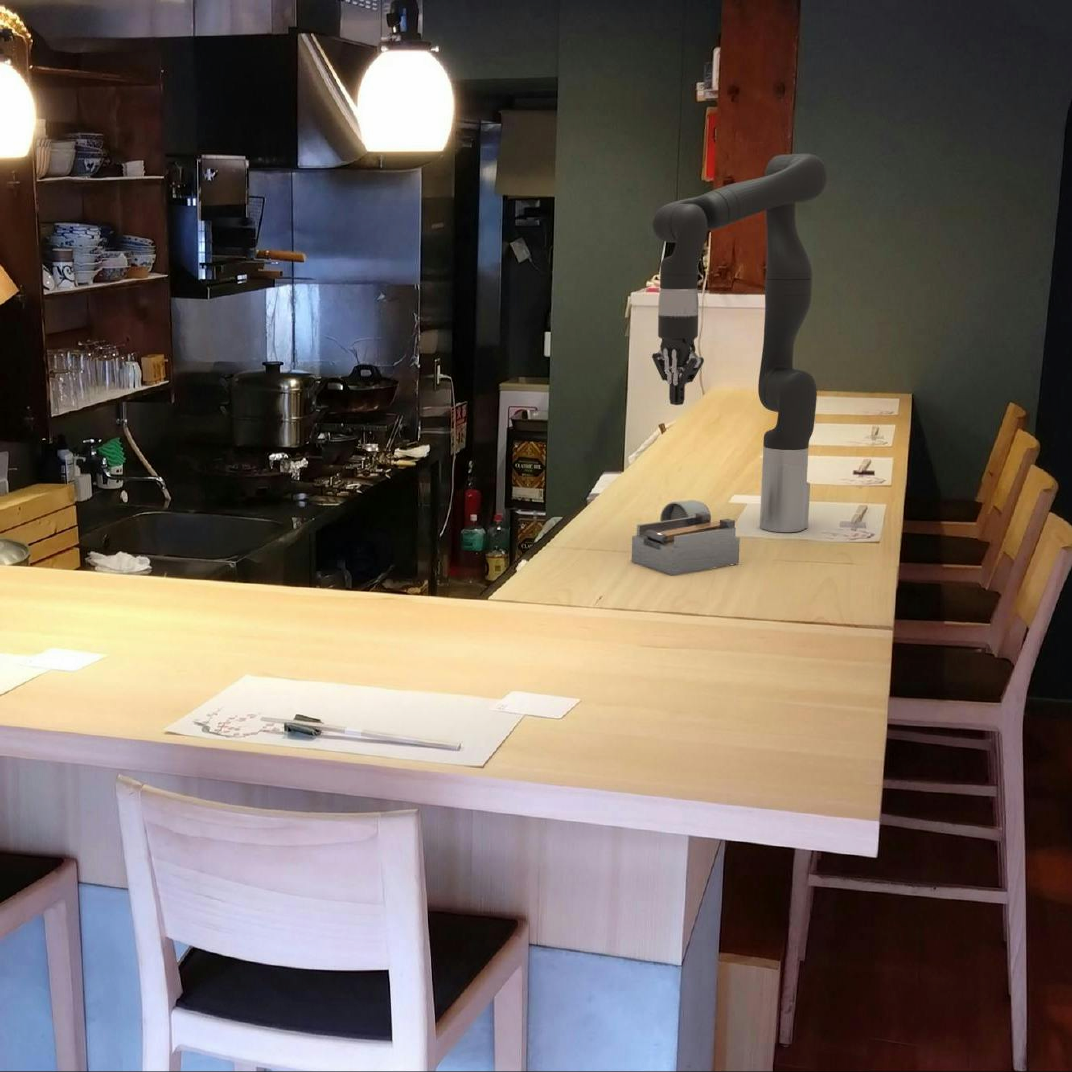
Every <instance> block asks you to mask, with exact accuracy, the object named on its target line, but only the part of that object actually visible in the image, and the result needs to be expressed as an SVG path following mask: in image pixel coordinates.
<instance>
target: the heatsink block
mask: <svg viewBox="0 0 1072 1072" xmlns="http://www.w3.org/2000/svg"><path fill="white" fill-rule="evenodd" d="M710 515H711V513H710V514H709V513H705V512H701V513H696V517H695V516H694V517H688V518H681V519H674V520H667V521H655V522H654V521H653V522H647V523H640V524H636V534H635V535H631V563H634V564H637V565H639V566H642V567H646V568H648V569H652V570H655V571H657V572H660V573H664V574H667V575H669V576H679V575H682V574H688V573H695V572H701V571H707V570H711V569H710V568H713V567H718V568H723V567H722V566H724V567H728V566H727V565H730V566H732V565H731V564H736V563H740V542H741V539H740V537H738V536H736V531H737V530H736V529H737V528H736V520H734V519H730V518H725V519H719V522H720V528H719V529H718V530H711V531H705V532H699V533H692V534H686V535H679V536H674V540H669V541H666V542H665V543H662V542H659V541H655V540H652V539H649V538H647V537H646V531H647V530H653V531H656V532H662V531H668V530H673V529H678V528H683V527H689V526H694V525H699V524H704V523H710ZM736 565H737V564H736ZM706 569H707V570H706ZM713 569H714V568H713Z"/></svg>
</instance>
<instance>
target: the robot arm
mask: <svg viewBox="0 0 1072 1072" xmlns="http://www.w3.org/2000/svg"><path fill="white" fill-rule="evenodd" d="M827 180H828V172H827V167H826V164H825V163H824V162H823V160H822V159H821V158H820V157H818V156H817V155H815V154H811V153H792V154H779V155H775V156H773V157H772V158H771V159H770V161H768V163H767V165H766V168H765V172H764V176H761V177H758V178H757V177H756V178H752V179H748V180H743V181H740V182H735V183H730V184H727V185H724V186H720V187H719V188H716V189H713V190H711V191H708V192H706V193H704V194H702V195H699V196H694V197H688V198H685V199H681V200H676V201H673V202H669V203H667V204H664V205H662V206H661V207H660V208H659V209H658V210H657V211H656V213H655V214H654V216H653V219H652V230H653V233H654V235H655V236H656V237H657V239H659V240H660V241H663V242H666V243H670V244H671V243H672V244H673V243H674V244H675V246H674V250H673V253H672V255H669V256H667V257H666V256H665V257H664V258H663V259H662V260H661V262H660V268H659V269H660V274H659V277H660V278H659V280H660V281H659V295H658V310H657V311H658V313H657V314H658V315H657V317H658V318H657V319H658V322H657V336H658V338H659V339H661V342H660V345H659V348H660V349H659V350H658V352H656V353H655V352H654V353H652V355H651V358H652V360H653V363H654V365H655V367H656V369H657V371H658V374H659V376H660V378H661V380H662V381H666V382H667V384H668V385H669V390H668V391H669V395H668V397H669V403H670V405H673V406H680V405H683V404H684V402H685V399H686V398H685V392H686V389H685V388H686V385H687V384H688V383H693V382H694V380H695V378H696V376H697V374H698V373H699V371H700V369H701V368H702V366H703V365H704V363H705V359H704V357H702V356H698V354H697V352H696V345H695V339H697V338H698V336H699V293H698V285H699V283H698V282H699V281H698V280H699V279H698V277H699V275H698V274H699V269H698V268H699V263H700V261H701V257H702V255H703V251H704V246H705V243H706V239H707V235H708V231H713V230H718V229H721V228H723V227H727V226H728V225H731V224H734V223H736V222H739V221H741V220H744V219H746V218H748V217H751V216H753V215H756V214H759V213H763V212H764V211H765V221H766V222H765V224H766V266H765V267H766V268H765V280H764V281H765V285H764V324H763V325H764V327H763V345H762V352H761V359H760V360H761V362H760V366H759V367H760V368H759V375H758V384H757V389H758V390H757V391H758V398H759V401H760V403H761V405H762V407H764V408H765V409H766V410H768V411H772V412H775V413H777V419H776V425H775V426H774V427H773V428H772V429H769V430H767V431H766V432H765V433H764V435H763V445H762V446H763V447H762V464H761V465H762V467H761V468H762V469H761V486H760V487H761V489H760V490H761V491H760V493H761V494H760V511H759V513H760V515H759V528H760V529H762V530H765V531H769V532H776V533H797V532H801V531H804V530H805V529H807V528H809V517H810V516H809V515H810V514H809V512H810V511H809V510H810V496H811V483H809V482H808V467H809V466H808V465H809V450H810V449H809V446H810V439H811V437H812V435H813V433H814V428H815V419H816V418H815V417H816V408H817V402H818V401H817V400H818V398H817V397H818V391H817V390H818V389H817V383H816V381H815V379H814V377H813V376H812V375H811V374H810V373H809V372H807V371H805V370H802V369H797V368H796V369H795V368H793V367H794V365H793V364H794V363H793V361H794V357H793V356H794V348H795V347H794V345H795V340H796V338H797V334H798V333H799V330H800V329H801V327H802V324H803V323H804V321H805V319H806V317H807V314H808V312H809V310H810V306H811V303H812V301H811V300H812V292H813V289H812V288H813V286H812V285H813V270H812V269H813V268H812V265H811V261H810V259H809V256H808V255H807V251H806V250H805V248H804V246H803V243H802V241H801V238H800V235H799V234H798V231H797V224H796V204H797V203H805V202H806V203H807V202H810V201H812V200H815V199H816V198H818V197H819V196H820V195H821V194H822V192H824V189H825V187H826V185H827Z"/></svg>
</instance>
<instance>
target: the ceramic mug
mask: <svg viewBox="0 0 1072 1072" xmlns="http://www.w3.org/2000/svg"><path fill="white" fill-rule="evenodd" d="M701 512H705V513H709V514H710V522H712V520H711V519H712V515H711V511H710V509H709V507H708V506H707V505H706V504H705V502H702V501H699V500H684V501H683V500H680V501H671V502H669V503H667V504H666V505H665V506H664V507H663V508H662V511H661V513H660V518H659V519H660V521H667V520H674V519H681V518H688V517H694V516H695V517H696V513H701ZM660 521H659V522H660Z"/></svg>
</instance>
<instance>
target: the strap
mask: <svg viewBox="0 0 1072 1072" xmlns="http://www.w3.org/2000/svg"><path fill="white" fill-rule="evenodd" d="M719 528H720V520H719V521H718V520H716V521H715V520H714V521H711V522H710V523H704V524H699V525H694V526H689V527H683V528H678V529H673V530H668V531H662V532H656V531H653V530H647V531H646V537H647V538H649V539H652V540H655V541H659V542H662V543H665V542H666V541H669V540H674V536H679V535H686V534H692V533H699V532H705V531H711V530H718V529H719Z"/></svg>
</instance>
